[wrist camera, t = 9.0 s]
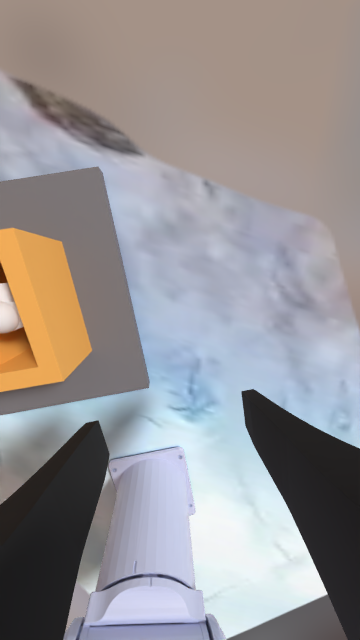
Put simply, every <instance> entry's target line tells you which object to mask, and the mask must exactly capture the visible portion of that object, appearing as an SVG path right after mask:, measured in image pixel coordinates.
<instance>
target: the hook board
mask: <svg viewBox="0 0 360 640" xmlns="http://www.w3.org/2000/svg"><path fill="white" fill-rule="evenodd" d="M8 228H16V229H19V230H23V231H26V232H30V233H33V234H37V235H40V236H44V237H47V238H51V239H54V240H58V241H61V242H62V244H63V248H64V251H65V255H66V259H67V262H68V266H69V269H70V273H71V277H72V280H73V284H74V287H75V291H76V294H77V298H78V302H79V305H80V309H81V312H82V316H83V320H84V323H85V327H86V330H87V334H88V337H89V341H90V345H91V348H92V351H91V353H90V354H89V355H88V356H87V357H86V358H85V359H84V360H83V361H82V362H81V363H80V364H79V365H78V366H77V367H76V369H75V370H74V371H73V372H72V373H71V374H70V375H69V376H68V377H67V378H66V379H65V380H64V381H62V382H56V383H50V384H44V385H38V386H33V387H27V388H21V389H15V390H9V391H3V392H0V415H4V414H9V413H15V412H20V411H26V410H31V409H36V408H42V407H47V406H53V405H58V404H64V403H69V402H74V401H80V400H85V399H91V398H96V397H101V396H107V395H112V394H118V393H123V392H128V391H134V390H139V389H145V388H149V383H150V382H149V377H148V373H147V368H146V364H145V359H144V355H143V351H142V346H141V342H140V337H139V333H138V328H137V324H136V320H135V315H134V311H133V306H132V302H131V297H130V293H129V289H128V284H127V280H126V275H125V271H124V266H123V262H122V257H121V253H120V249H119V244H118V240H117V235H116V231H115V226H114V222H113V218H112V213H111V209H110V204H109V200H108V195H107V191H106V187H105V182H104V178H103V173H102V172H101V170H100V169H99V167H93V168H86V169H80V170H73V171H67V172H60V173H54V174H47V175H41V176H34V177H28V178H21V179H15V180H8V181H2V182H0V230H1V229H8ZM22 327H24V326H23V323H22V320H21V317H20V315H19V312H18V309H17V306H16V303H15V301H14V298H13V295H12V292H11V289H10V287H9V284H8V283H0V334H3V333H9V332H12V331H14V330H17V329H20V328H22Z"/></svg>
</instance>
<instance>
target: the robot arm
mask: <svg viewBox="0 0 360 640" xmlns="http://www.w3.org/2000/svg"><path fill="white" fill-rule="evenodd" d="M242 400H243V408H244V416H245V425H246V428H247V430H248V433H249V435H250V437H251V440H252V442H253V444H254V446H255V448H256V450H257V452H258V454H259V456H260V457H261V459H262V461H263V463H264V465H265V466H266V468H267V470H268V472H269V474H270V475H271V477H272V479H273V481H274V483H275V484H276V486H277V488H278V490H279V491H280V493H281V495H282V497H283V499H284V500H285V502H286V504H287V506H288V508H289V510H290V512H291V514H292V516H293V518H294V521H295V523H296V525H297V527H298V529H299V531H300V533H301V536H302V538H303V540H304V542H305V544H306V546H307V549H308V551H309V553H310V555H311V557H312V560H313V562H314V564H315V566H316V568H317V571H318V573H319V575H320V577H321V580H322V582H323V584H324V586H325V589H326V591H327V593H328V595H329V597H330V600H331V602H332V604H333V607H334V609H335V611H336V614H337V616H338V618H339V620H340V623H341V625H342V627H343V630H344V632H345V634H346V636H347V638H348V640H360V449H359V448H357V447H355V446H352V445H350V444H348V443H346V442H343V441H341V440H339V439H337V438H335V437H333V436H331V435H329V434H327V433H325V432H323V431H321V430H319V429H317V428H315V427H313V426H312V425H310V424H308V423H306V422H305V421H303V420H301V419H299V418H298V417H296V416H294V415H292V414H291V413H289V412H288V411H286V410H284V409H283V408H281V407H280V406H278V405H277V404H275V403H274V402H272V401H270V400H269V399H267V398H266V397H265V396H263V395H262V394H260V393H259V392H257V391H256V390H254V389H252V390H247V391H242ZM179 455H181V456H179ZM108 459H109V451H108V448H107V445H106V442H105V439H104V436H103V433H102V430H101V427H100V424H99V421H94V422H89V423H86V424H85V425H83V426H82V427H81V428H80V429H79V430H78V431H77V432H76V433H75V434H74V435H73V436H72V437H71V438H70V439H69V440H68V441H67V442H66V443H65V444H64V445H63V446H62V447H61V448H60V449H59V450H58V451H57V452H56V453H55V454H54V456H53V457H52V458H51V459H50V460H49V461H48V462H47V463H45V464H44V465H43V466H42V467H41V468H40V469H39V470H38V471H37V472H36V473H35V474H34V475H33V476H32V477H31V478H30V479H29V480H28V481H27V482H26V483H24V484H23V485H22V486H21V487H20V488H19V489H18V490H17V491H16V492H15V493H14V494H12V495H11V496H10V497H9V498H8V499H7V500H6V501H4V502H3V503H2V504H1V505H0V640H226V637H225V635H224V633H223V631H222V630H221V628H220V626H219V624H218V622H217V620H216V618H215V617H214V615H212V614H205V609H204V600H203V592H202V591H201V590H196V587H195V577H194V566H193V555H192V544H191V534H190V523H189V515H193V514H194V513H195V505H194V500H193V495H192V490H191V484H190V479H189V474H188V469H187V464H186V459H185V454H184V449H183V448H182V447H176V448H170V449H165V450H160V451H155V452H150V453H145V454H139V455H134V456H129V457H124V458H119V459H114V460H111V461H110V462H109V470H110V473H111V476H112V479H113V482H114V485H115V488H116V492H117V496H116V501H115V505H114V510H113V514H112V519H111V523H110V528H109V532H108V537H107V541H106V546H105V550H104V555H103V559H102V564H101V569H100V573H99V578H98V582H97V587H96V591H95V592H92V593H91V594H90V598H89V603H88V607H87V611H86V615H85V619H84V617H77V618H75V619H74V620H73V622H72V623H71V625H70V627H69V628H68V629H67V630H66V632H65V629H66V625H67V619H68V615H69V610H70V605H71V601H72V596H73V592H74V587H75V583H76V579H77V574H78V570H79V565H80V561H81V557H82V553H83V550H84V546H85V542H86V539H87V536H88V533H89V529H90V526H91V523H92V519H93V516H94V513H95V510H96V506H97V503H98V500H99V497H100V493H101V490H102V487H103V483H104V480H105V475H106V470H107V465H108ZM115 468H116V469H115Z"/></svg>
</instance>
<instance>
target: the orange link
mask: <svg viewBox="0 0 360 640" xmlns="http://www.w3.org/2000/svg"><path fill="white" fill-rule="evenodd" d="M0 283H8V284H9V287H10V289H11V292H12V295H13V298H14V301H15V303H16V306H17V309H18V312H19V315H20V317H21V320H22V323H23V326H24V327H22V328H20V329H17V330H14V331H12V332H9V333H3V334H0V392H3V391H9V390H15V389H21V388H27V387H33V386H38V385H44V384H50V383H56V382H62V381H64V380H65V379H66V378H67V377H68V376H69V375H70V374H71V373H72V372H73V371H74V370H75V369H76V367H77V366H78V365H79V364H80V363H81V362H82V361H83V360H84V359H85V358H86V357H87V356H88V355H89V354H90V353H91V351H92V348H91V345H90V341H89V337H88V334H87V330H86V327H85V323H84V320H83V316H82V312H81V309H80V305H79V302H78V298H77V294H76V291H75V287H74V284H73V280H72V277H71V273H70V269H69V266H68V262H67V259H66V255H65V251H64V248H63V244H62V242H61V241H58V240H54V239H51V238H47V237H44V236H40V235H37V234H33V233H30V232H26V231H23V230H19V229H16V228H8V229H1V230H0Z"/></svg>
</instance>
